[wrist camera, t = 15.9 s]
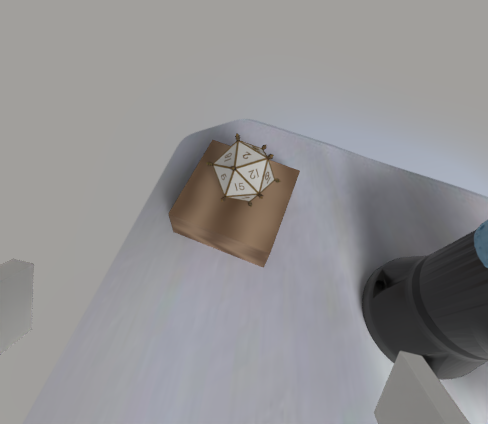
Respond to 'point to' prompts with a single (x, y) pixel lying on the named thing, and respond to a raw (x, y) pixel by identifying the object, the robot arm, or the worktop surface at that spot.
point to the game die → (243, 171)
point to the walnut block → (232, 211)
